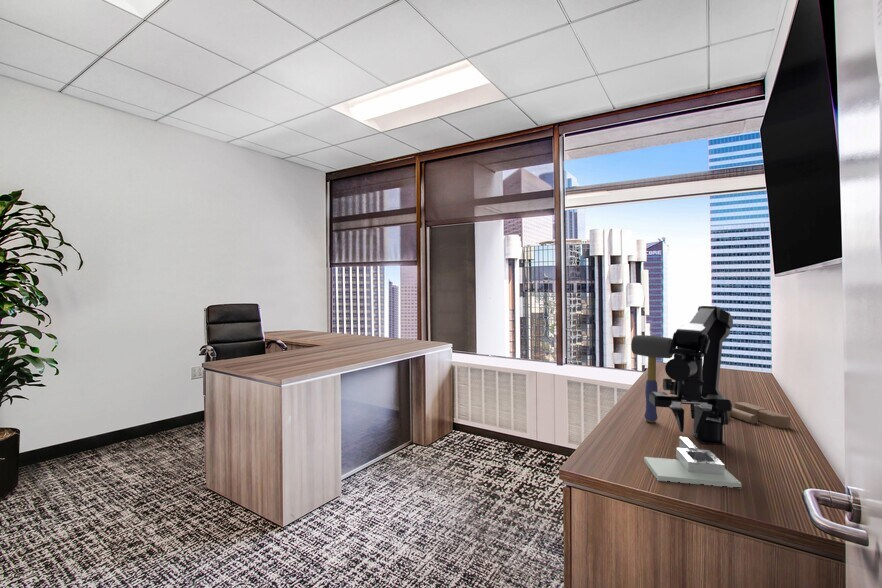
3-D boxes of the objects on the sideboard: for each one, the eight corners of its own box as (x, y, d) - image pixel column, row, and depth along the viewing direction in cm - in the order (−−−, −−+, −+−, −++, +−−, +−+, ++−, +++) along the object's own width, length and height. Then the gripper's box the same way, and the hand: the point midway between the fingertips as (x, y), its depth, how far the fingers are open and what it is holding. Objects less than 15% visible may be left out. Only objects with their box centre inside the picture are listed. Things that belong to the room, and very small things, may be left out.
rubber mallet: (628, 419, 143) (629, 334, 142) (635, 415, 148) (637, 333, 147) (667, 428, 134) (669, 338, 133) (673, 423, 139) (675, 336, 139)
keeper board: (718, 467, 106) (718, 448, 105) (741, 488, 95) (741, 466, 95) (644, 461, 109) (644, 442, 109) (657, 480, 98) (658, 459, 98)
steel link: (667, 446, 114) (667, 435, 114) (698, 448, 113) (699, 438, 113) (688, 471, 100) (688, 459, 100) (724, 474, 99) (724, 463, 99)
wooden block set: (742, 398, 153) (791, 413, 135) (741, 413, 153) (791, 430, 135) (703, 400, 149) (749, 415, 132) (703, 415, 150) (748, 433, 132)
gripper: (713, 370, 116) (712, 424, 116) (643, 367, 119) (642, 420, 120) (734, 379, 105) (732, 439, 105) (656, 376, 108) (654, 433, 109)
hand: (688, 432), depth 110 cm, fingers open, 3 cm apart
